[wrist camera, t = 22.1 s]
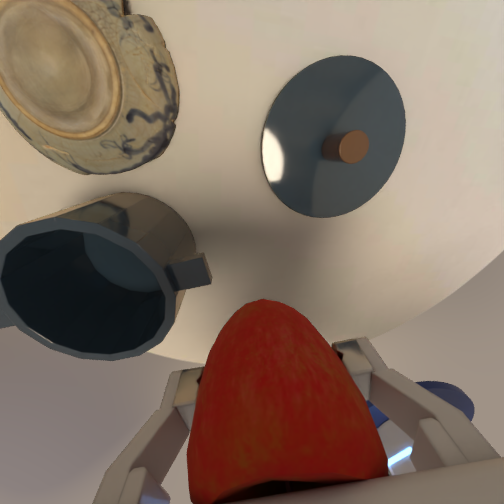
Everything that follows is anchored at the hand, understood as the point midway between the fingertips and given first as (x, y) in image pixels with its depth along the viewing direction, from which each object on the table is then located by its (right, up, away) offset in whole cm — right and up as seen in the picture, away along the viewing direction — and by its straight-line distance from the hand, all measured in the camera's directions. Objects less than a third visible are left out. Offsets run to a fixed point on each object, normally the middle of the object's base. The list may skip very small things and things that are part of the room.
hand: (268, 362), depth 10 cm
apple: (0, +1, +2) cm, 3 cm away
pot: (-14, +6, +15) cm, 21 cm away
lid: (+7, +15, +11) cm, 20 cm away
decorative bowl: (-15, +19, +8) cm, 26 cm away
